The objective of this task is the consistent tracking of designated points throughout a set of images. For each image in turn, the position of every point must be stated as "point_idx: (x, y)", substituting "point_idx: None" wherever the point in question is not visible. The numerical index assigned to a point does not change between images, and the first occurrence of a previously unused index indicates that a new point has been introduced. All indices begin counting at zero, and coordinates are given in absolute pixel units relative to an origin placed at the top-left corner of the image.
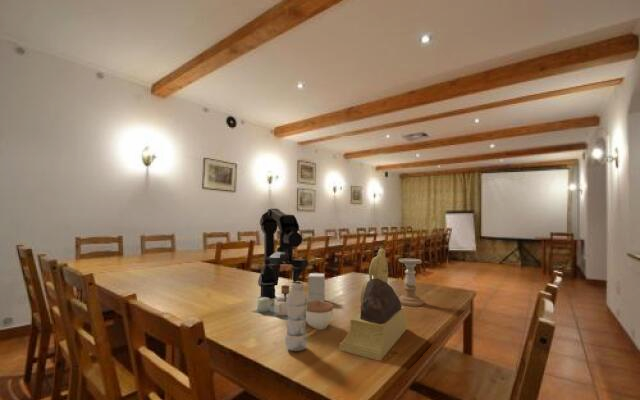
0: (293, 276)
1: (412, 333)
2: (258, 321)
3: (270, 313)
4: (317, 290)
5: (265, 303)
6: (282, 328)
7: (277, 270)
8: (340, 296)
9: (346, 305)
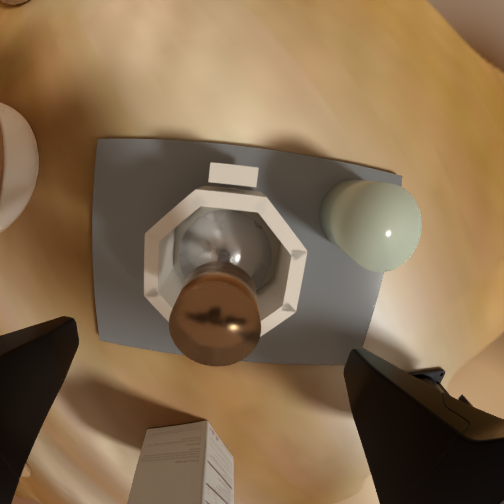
0: (8, 351)
1: None
2: (291, 75)
3: (292, 190)
4: (159, 470)
5: (347, 197)
6: (127, 56)
7: (403, 473)
8: None
9: (76, 428)
